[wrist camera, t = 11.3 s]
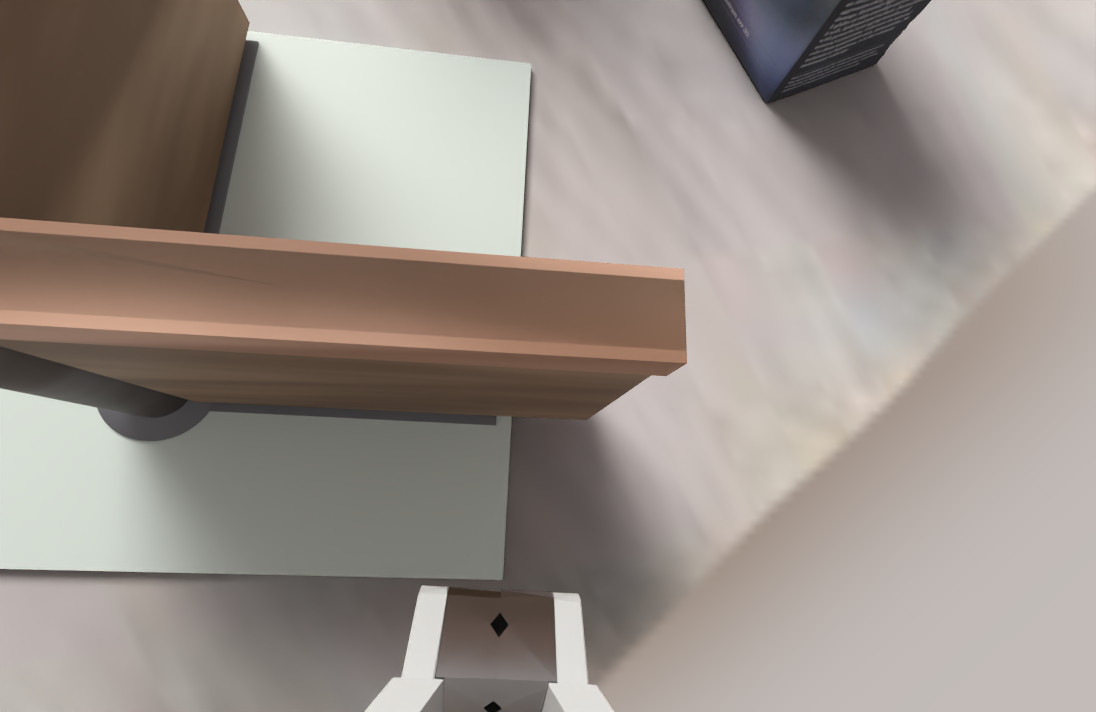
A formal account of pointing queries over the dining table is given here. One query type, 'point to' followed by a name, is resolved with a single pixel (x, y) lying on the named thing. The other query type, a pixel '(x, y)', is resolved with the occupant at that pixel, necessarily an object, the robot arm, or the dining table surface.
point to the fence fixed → (112, 138)
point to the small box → (809, 38)
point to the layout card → (288, 431)
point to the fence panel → (337, 320)
